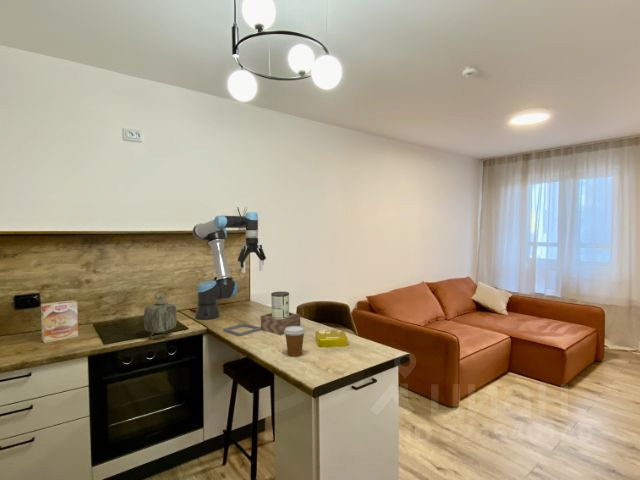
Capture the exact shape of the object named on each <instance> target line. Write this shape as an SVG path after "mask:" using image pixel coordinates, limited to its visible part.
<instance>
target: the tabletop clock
mask: <svg viewBox="0 0 640 480" xmlns="http://www.w3.org/2000/svg"><path fill="white" fill-rule="evenodd" d="M159 293H164V296H159V297H157V295H158V294H159ZM166 296H167V292H166V291H165V290H159V291H157V292H156V293H155V294H154V298H155V299H156V301H155V303H153V304H149V305H147V306H146V307H145V308H144V312H143V324H144V325H143V326H144V330H145V331H146V332H151V334H150V335H148V337H147V339H149V340H151V339H152V336H153V335H154V334H155V333H156V334H161V333H162V338H164V339H165V338H166V337H167V335H168V334H169V331H170V330H172V329H174V328H176V326H177V321H178V320H177V319H178V316H177V315H178V314H177V313H178V312H177V308H176V305H175V304H173V303H166V300H165V299H164V298H165V297H166Z"/></svg>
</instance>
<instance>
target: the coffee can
mask: <svg viewBox="0 0 640 480" xmlns="http://www.w3.org/2000/svg"><path fill="white" fill-rule="evenodd" d="M270 295H271V299H270V300H271V301H270V302H271V313H272V318H275V319H284V318H288V317H289V312H290V292H289V291H274V292H271V293H270Z"/></svg>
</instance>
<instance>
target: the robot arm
mask: <svg viewBox="0 0 640 480" xmlns="http://www.w3.org/2000/svg"><path fill="white" fill-rule="evenodd" d="M258 216H259V215H258V212H255V211H253V212H252V211H250V212H249V211H248V212H245V215H223V214H222V215H216V216H215V217H214V219H212V220H209V221H207V222H204V223H203V222H201V223H198V224H196V225H194V227H193V228H192V236H193V237H194V238H195V239H197V240H199V241H207V244H208V245H209V246H210V248H211V254H212V257H213V263H214V269H215V275H216V279H215V280H207V281H206V280H205V281H202V282H200V283H198V285H197V308H196V312H195V316H194V317H195V319H196V320H201V321H206V320H207V321H209V320H214V319H217V318H219V317H220V311H219V308H218V305H217V301H218V300H224V299H225V300H226V299H231V298H234V297H236V295H237V293H238V288H239V287H238V286H239V285H238V283H237V281H236V280H234V279H233V276H231V275H230V269H229V267H228V266H229V265H228V260H227V255H226V250H225V246H224V243H225V242H226V239H227V234H228V233H227V229H245V244H246V245H241V251H240V252H239V255H238V257H237V262H240V268H241V273H243V274H246V261H245V260H246V259H247V258H248V256H249V255H250V254H251V253H254V254H255V255H256V256H257V257H258V259H259V260H258V271H260V272H263V271H264V261H265V260H267V257H266V255H265V252H264V249H263V245H262V244H259V238H258V237H259V217H258Z"/></svg>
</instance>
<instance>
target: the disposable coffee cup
mask: <svg viewBox="0 0 640 480" xmlns="http://www.w3.org/2000/svg"><path fill="white" fill-rule="evenodd" d="M305 332H306V331H305V328H304V327H303V326H301V325H300V326H290V327H287V328H285V331H284V333H285V334H284V335H285V341H286V342H285V343H286V348H287V349H286V350H287V355H288V356H289V357H300V356H301V355H302V354H303V344H304V336H305V335H304V334H305Z"/></svg>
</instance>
